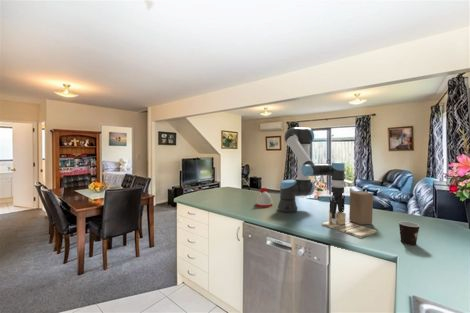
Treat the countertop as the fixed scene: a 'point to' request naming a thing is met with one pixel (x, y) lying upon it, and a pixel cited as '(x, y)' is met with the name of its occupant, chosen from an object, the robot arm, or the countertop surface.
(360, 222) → the block
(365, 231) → the board
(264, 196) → the kitchen timer
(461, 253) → the countertop surface
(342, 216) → the block
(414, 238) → the coffee mug
